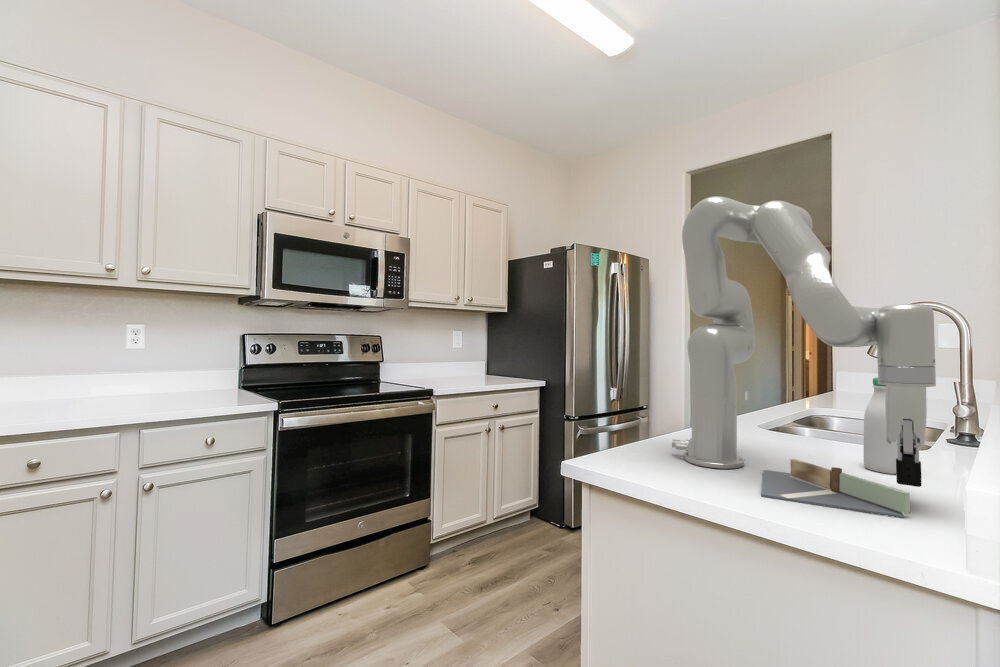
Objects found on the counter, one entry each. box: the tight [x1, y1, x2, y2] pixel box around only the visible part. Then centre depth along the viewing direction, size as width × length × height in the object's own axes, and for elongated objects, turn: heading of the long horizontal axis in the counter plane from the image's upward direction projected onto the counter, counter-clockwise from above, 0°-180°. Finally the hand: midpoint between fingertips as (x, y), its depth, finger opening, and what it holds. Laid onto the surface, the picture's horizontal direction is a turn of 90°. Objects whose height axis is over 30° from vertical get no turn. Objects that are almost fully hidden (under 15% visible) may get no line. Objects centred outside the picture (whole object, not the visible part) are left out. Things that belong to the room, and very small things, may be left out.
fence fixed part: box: [790, 458, 843, 493], centre depth 92 cm, size 10×2×5 cm, turn 15°
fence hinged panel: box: [840, 472, 911, 514], centre depth 81 cm, size 11×1×3 cm, turn 15°
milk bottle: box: [863, 376, 903, 475], centre depth 103 cm, size 8×8×20 cm
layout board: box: [760, 469, 905, 519], centre depth 88 cm, size 20×18×1 cm
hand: (908, 484), depth 81 cm, fingers closed
